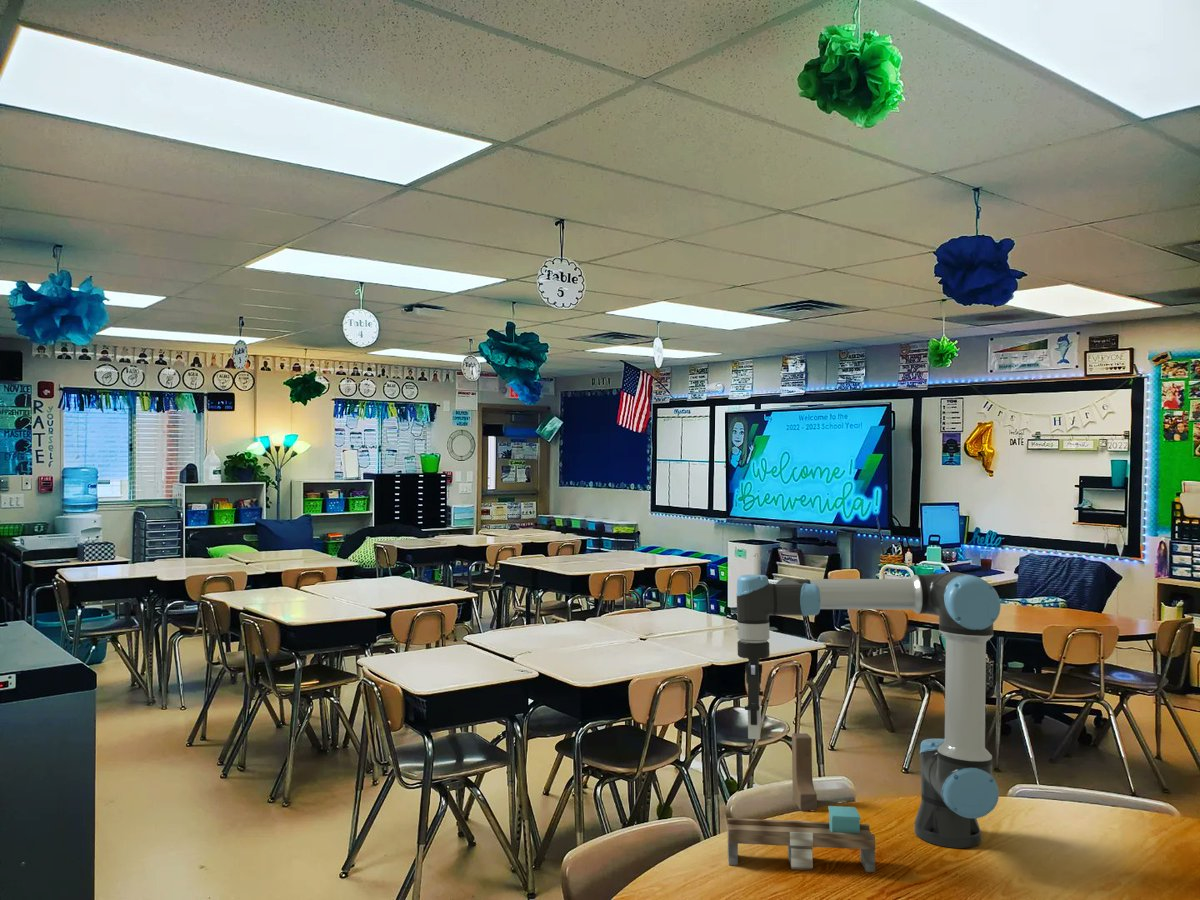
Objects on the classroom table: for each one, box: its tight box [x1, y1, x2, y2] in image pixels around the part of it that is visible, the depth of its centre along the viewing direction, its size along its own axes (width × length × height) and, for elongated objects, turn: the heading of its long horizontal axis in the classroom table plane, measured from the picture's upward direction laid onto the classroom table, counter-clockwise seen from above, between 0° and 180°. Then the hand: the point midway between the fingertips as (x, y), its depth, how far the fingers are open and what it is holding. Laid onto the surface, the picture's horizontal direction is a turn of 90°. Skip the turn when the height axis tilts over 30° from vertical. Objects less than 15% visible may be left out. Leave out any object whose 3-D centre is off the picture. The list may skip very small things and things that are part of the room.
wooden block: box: [791, 732, 818, 812], centre depth 229 cm, size 9×4×18 cm, turn 0°
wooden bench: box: [726, 817, 876, 873], centre depth 192 cm, size 32×7×8 cm, turn 84°
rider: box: [827, 805, 862, 833], centre depth 191 cm, size 6×6×5 cm
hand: (754, 731), depth 201 cm, fingers open, 13 cm apart
